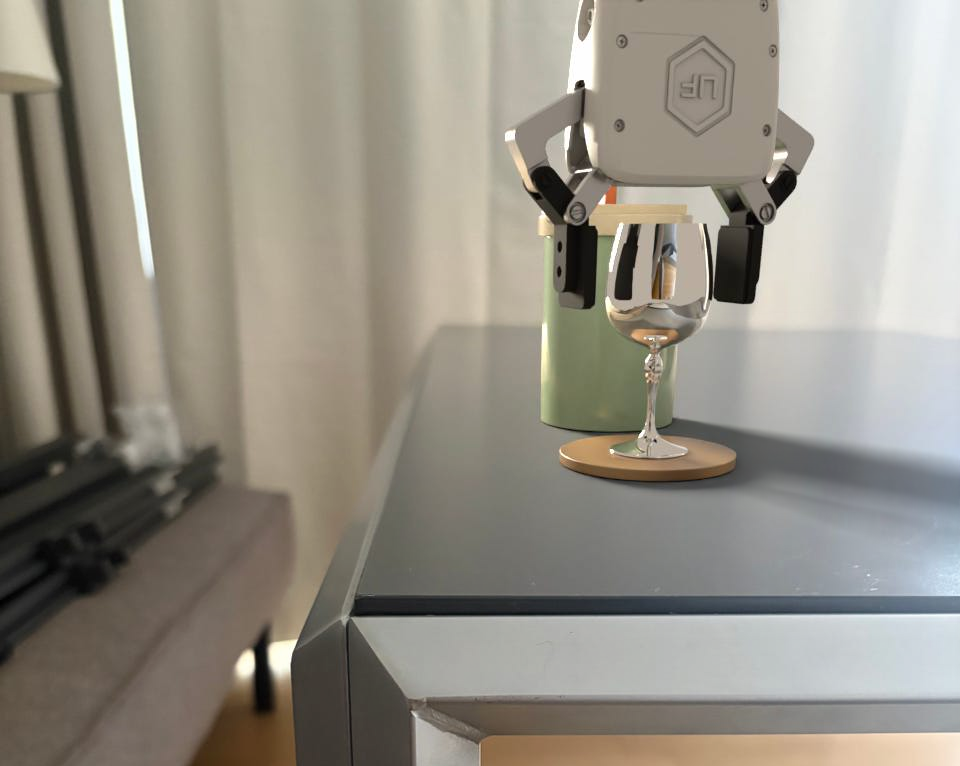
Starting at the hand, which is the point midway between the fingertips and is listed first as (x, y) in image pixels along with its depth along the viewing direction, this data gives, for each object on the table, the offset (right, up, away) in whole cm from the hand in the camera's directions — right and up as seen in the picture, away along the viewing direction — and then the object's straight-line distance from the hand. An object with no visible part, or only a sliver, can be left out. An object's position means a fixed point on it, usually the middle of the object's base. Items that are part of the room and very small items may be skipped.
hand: (656, 305), depth 54 cm
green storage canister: (-1, -3, +16) cm, 16 cm away
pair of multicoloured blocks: (-3, +9, +10) cm, 14 cm away
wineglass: (0, -8, +3) cm, 8 cm away
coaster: (0, -8, +3) cm, 9 cm away
